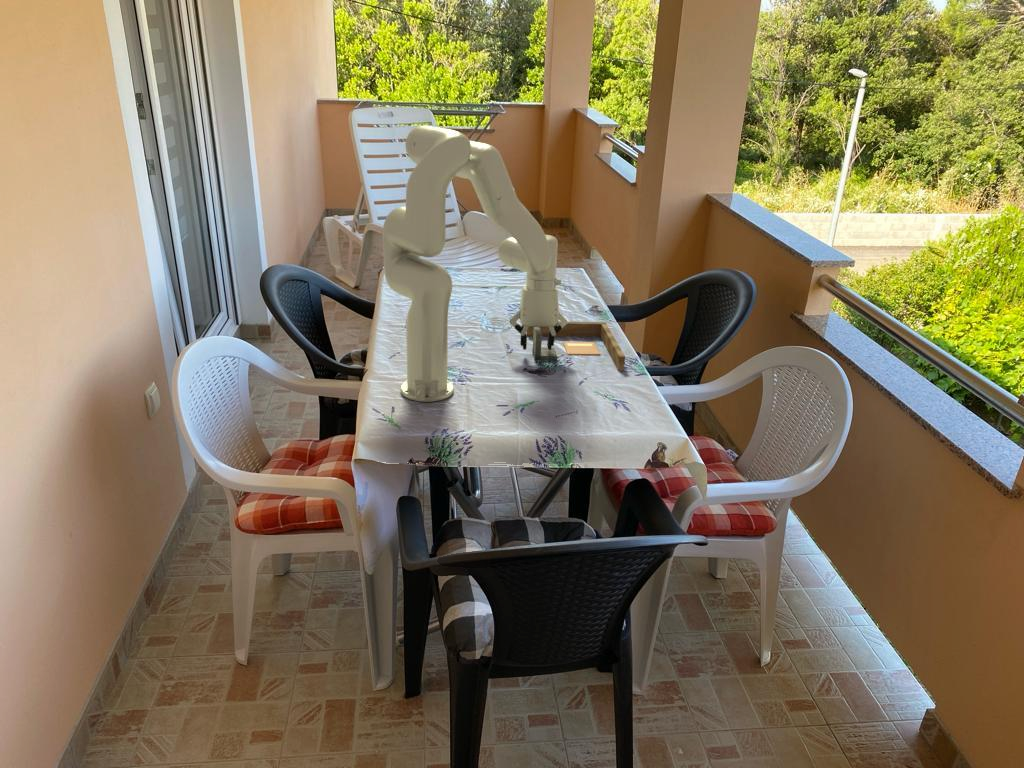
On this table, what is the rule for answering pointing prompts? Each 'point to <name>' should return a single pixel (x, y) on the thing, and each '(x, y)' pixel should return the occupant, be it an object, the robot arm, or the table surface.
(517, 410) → the table surface
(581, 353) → the pad
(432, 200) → the robot arm
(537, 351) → the bracket
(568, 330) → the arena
